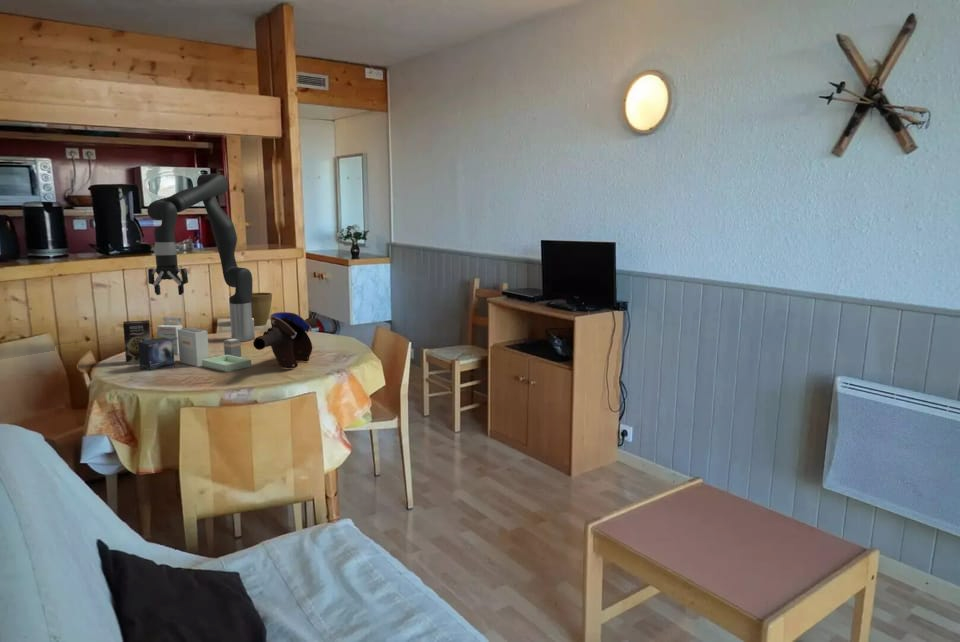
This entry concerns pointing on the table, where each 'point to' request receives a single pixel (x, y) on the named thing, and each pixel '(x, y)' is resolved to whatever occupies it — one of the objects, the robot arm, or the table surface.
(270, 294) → the plant pot
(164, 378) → the table surface
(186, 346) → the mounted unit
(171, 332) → the ink cartridge box
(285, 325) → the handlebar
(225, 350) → the module
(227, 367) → the tray
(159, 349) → the small box
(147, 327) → the coffee box
